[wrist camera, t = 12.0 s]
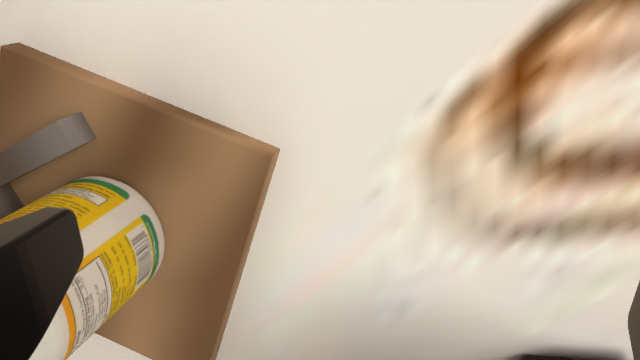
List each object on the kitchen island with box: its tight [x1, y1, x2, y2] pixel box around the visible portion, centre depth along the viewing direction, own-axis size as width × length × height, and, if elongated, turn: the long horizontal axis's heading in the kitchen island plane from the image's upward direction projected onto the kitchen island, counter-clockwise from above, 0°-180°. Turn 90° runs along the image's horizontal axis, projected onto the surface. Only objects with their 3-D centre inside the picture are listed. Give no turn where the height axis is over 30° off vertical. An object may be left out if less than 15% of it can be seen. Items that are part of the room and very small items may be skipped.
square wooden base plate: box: [0, 43, 280, 360], centre depth 25 cm, size 12×12×2 cm
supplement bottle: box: [0, 176, 165, 360], centre depth 21 cm, size 5×5×10 cm
